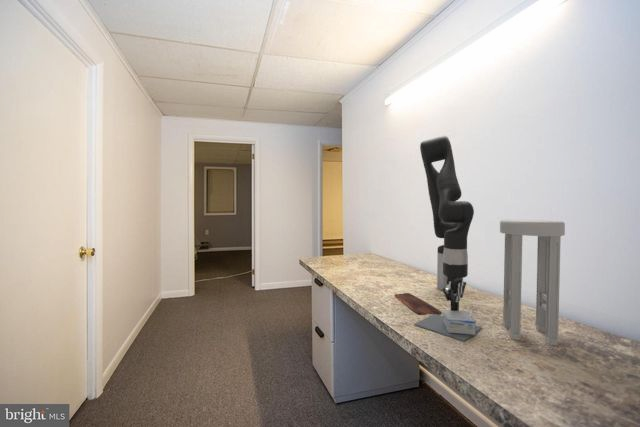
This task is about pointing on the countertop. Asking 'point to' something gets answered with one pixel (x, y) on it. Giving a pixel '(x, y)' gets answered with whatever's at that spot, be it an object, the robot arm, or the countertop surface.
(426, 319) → the mat
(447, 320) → the medicine box
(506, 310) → the stool
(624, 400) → the countertop surface
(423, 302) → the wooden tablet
